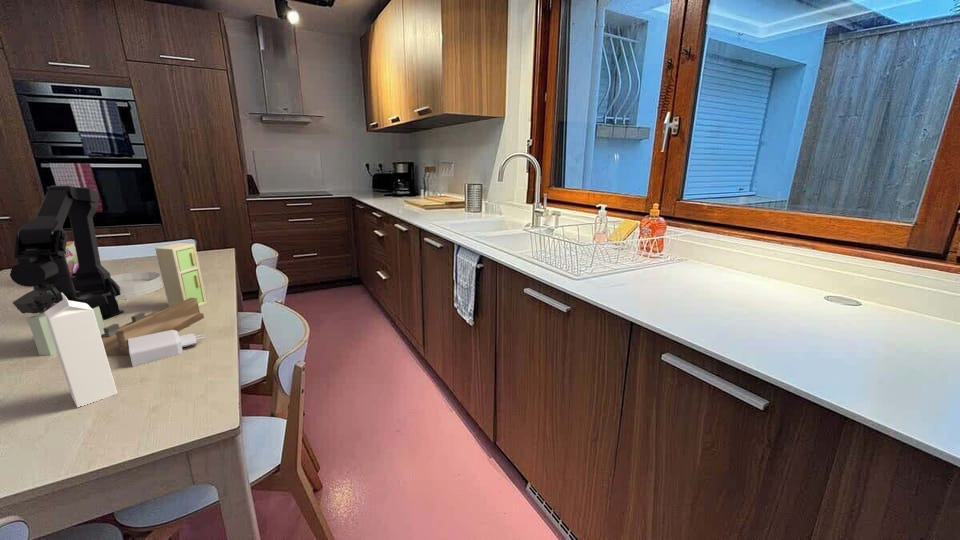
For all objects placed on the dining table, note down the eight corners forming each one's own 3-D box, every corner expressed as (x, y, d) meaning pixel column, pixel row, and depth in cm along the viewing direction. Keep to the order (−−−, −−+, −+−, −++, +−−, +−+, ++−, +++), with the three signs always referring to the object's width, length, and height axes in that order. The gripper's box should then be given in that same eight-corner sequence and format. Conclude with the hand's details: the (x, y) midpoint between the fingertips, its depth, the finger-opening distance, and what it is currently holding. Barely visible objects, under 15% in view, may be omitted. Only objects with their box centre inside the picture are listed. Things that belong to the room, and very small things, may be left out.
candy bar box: (60, 288, 147) (47, 246, 142) (45, 289, 146) (32, 246, 142) (86, 279, 157) (74, 240, 153) (72, 280, 157) (60, 240, 152)
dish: (173, 290, 146) (170, 277, 144) (95, 308, 128) (91, 293, 126) (150, 280, 157) (147, 269, 156) (75, 296, 139) (71, 282, 138)
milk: (110, 385, 83) (83, 288, 78) (118, 394, 80) (90, 294, 74) (70, 398, 79) (38, 296, 73) (76, 408, 75) (43, 302, 69)
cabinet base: (72, 353, 97) (64, 329, 95) (154, 316, 120) (149, 297, 118) (133, 355, 96) (126, 331, 94) (204, 317, 119) (199, 298, 117)
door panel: (39, 355, 96) (26, 317, 93) (96, 331, 110) (86, 298, 107) (51, 355, 96) (38, 318, 93) (106, 331, 110) (96, 298, 107)
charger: (209, 350, 101) (133, 369, 91) (203, 338, 107) (131, 354, 97) (206, 334, 99) (128, 351, 89) (200, 322, 106) (127, 337, 96)
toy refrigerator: (188, 313, 123) (173, 248, 117) (169, 311, 124) (154, 247, 119) (209, 304, 130) (197, 243, 125) (191, 302, 132) (178, 242, 126)
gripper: (-22, 284, 90) (0, 345, 95) (53, 286, 90) (72, 346, 94) (33, 271, 101) (51, 326, 105) (101, 272, 100) (116, 327, 105)
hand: (71, 332), depth 102 cm, fingers closed on door panel, 3 cm apart
